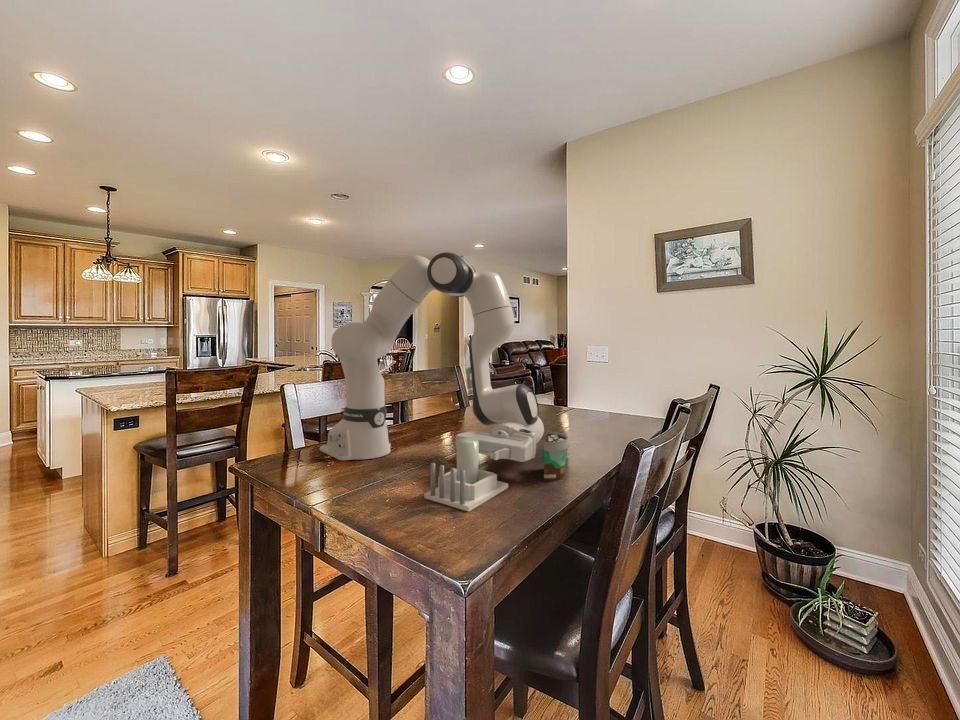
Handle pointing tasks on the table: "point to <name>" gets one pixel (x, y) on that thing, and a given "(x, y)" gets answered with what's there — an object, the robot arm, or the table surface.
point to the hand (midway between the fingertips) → (475, 452)
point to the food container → (555, 455)
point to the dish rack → (463, 488)
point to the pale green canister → (468, 459)
